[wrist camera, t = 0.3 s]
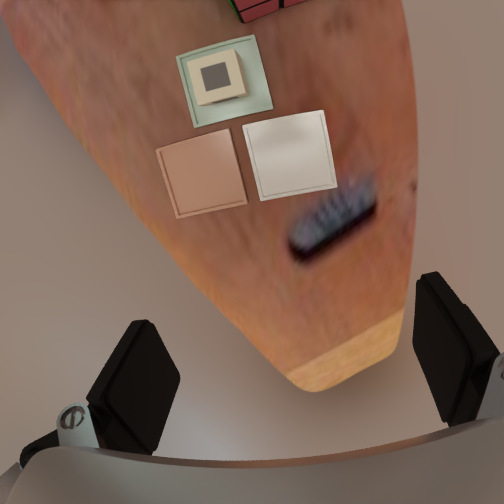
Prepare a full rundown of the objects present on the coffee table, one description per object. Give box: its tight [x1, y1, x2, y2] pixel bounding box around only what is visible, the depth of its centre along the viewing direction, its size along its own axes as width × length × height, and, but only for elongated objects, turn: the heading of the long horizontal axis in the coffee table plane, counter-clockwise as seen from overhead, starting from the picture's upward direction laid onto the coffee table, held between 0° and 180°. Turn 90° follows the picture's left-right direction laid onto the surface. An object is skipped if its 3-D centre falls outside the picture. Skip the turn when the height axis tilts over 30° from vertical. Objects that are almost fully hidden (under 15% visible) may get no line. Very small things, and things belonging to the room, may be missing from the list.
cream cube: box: [187, 49, 250, 106], centre depth 30 cm, size 5×5×5 cm
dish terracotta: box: [155, 128, 248, 219], centre depth 37 cm, size 9×9×1 cm
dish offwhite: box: [242, 110, 337, 201], centre depth 35 cm, size 9×9×1 cm
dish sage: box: [176, 34, 274, 128], centre depth 32 cm, size 9×9×1 cm
